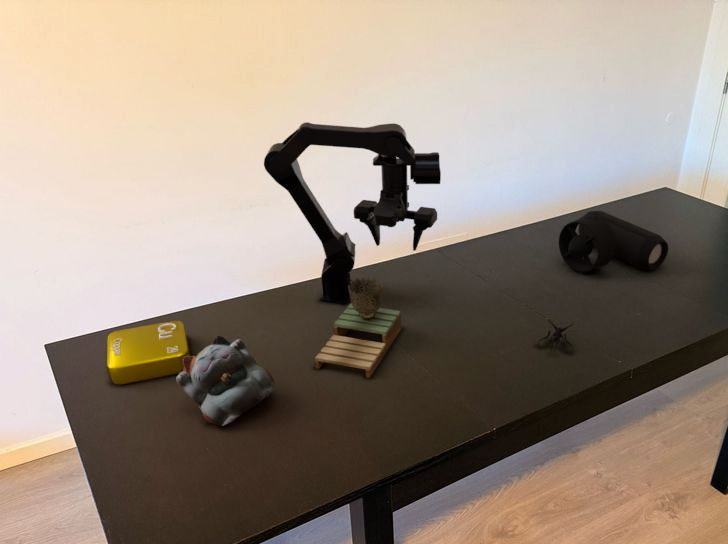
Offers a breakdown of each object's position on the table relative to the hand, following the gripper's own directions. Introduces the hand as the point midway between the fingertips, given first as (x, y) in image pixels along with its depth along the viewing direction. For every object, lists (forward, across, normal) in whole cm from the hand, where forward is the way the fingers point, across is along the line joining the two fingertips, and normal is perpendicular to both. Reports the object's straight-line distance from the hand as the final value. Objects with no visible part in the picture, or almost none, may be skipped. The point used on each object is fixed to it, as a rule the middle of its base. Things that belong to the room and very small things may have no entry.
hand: (396, 247), depth 155 cm
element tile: (+13, -40, -42) cm, 59 cm away
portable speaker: (+13, +52, +41) cm, 68 cm away
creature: (+13, +41, -12) cm, 45 cm away
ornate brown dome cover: (+8, 0, -20) cm, 22 cm away
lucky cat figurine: (+13, -16, -51) cm, 55 cm away
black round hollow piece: (+13, +42, +28) cm, 52 cm away
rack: (+13, 0, -25) cm, 28 cm away
